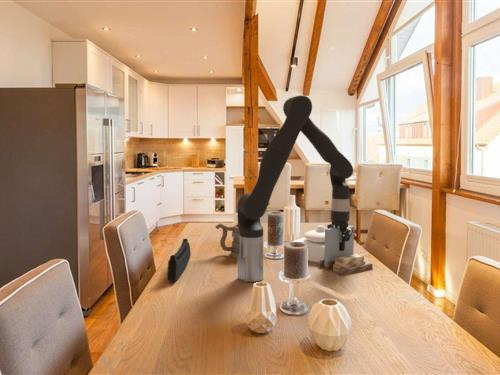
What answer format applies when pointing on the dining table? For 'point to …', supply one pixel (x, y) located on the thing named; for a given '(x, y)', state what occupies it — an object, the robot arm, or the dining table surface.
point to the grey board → (336, 245)
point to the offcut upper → (349, 260)
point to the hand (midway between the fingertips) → (339, 249)
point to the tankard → (236, 239)
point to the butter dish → (315, 243)
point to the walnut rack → (344, 271)
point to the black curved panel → (179, 261)
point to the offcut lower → (338, 268)
